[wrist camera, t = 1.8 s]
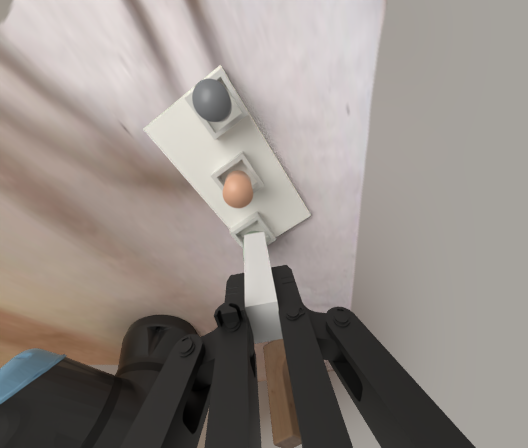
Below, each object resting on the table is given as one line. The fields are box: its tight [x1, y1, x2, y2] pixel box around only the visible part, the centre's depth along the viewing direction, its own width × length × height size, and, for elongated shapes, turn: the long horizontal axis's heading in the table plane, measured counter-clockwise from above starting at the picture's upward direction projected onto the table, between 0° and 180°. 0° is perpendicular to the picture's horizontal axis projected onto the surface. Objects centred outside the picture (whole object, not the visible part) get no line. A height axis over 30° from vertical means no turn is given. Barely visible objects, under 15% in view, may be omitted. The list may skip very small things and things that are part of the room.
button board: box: [143, 65, 311, 248], centre depth 31 cm, size 13×25×3 cm, turn 33°
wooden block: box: [263, 339, 302, 448], centre depth 44 cm, size 9×4×18 cm, turn 131°
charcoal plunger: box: [192, 79, 232, 122], centre depth 22 cm, size 4×4×5 cm
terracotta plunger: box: [223, 170, 253, 208], centre depth 26 cm, size 4×4×5 cm
